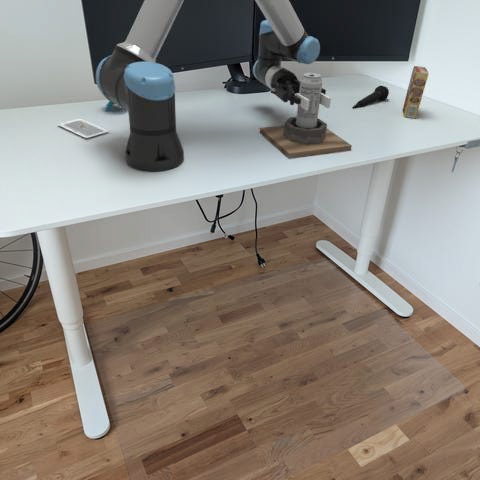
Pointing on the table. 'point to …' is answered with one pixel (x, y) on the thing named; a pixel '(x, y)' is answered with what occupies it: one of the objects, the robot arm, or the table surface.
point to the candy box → (415, 91)
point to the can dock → (303, 148)
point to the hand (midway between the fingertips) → (318, 104)
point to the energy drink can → (312, 92)
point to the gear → (108, 105)
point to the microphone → (374, 96)
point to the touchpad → (83, 128)
